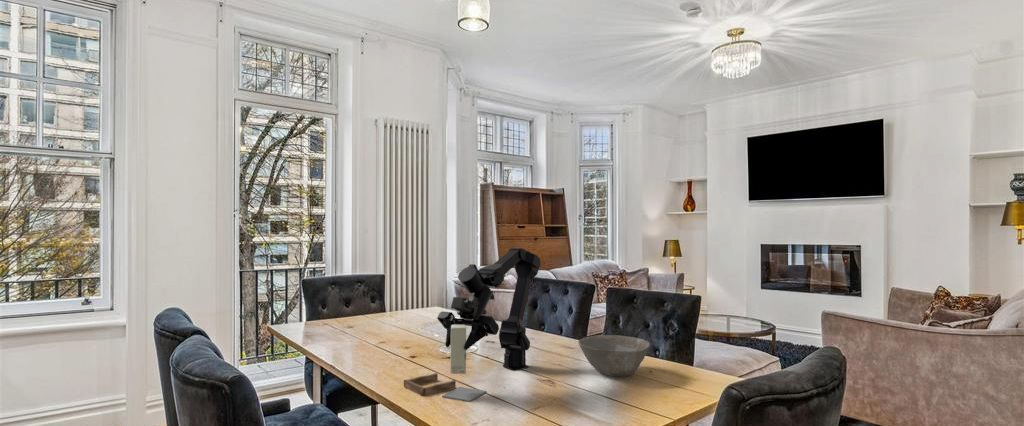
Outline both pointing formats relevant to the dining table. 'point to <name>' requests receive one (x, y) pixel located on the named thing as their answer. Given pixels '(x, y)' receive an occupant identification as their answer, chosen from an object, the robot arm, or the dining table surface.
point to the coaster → (464, 394)
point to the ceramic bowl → (614, 353)
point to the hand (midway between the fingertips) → (455, 347)
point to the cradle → (415, 387)
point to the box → (458, 349)
